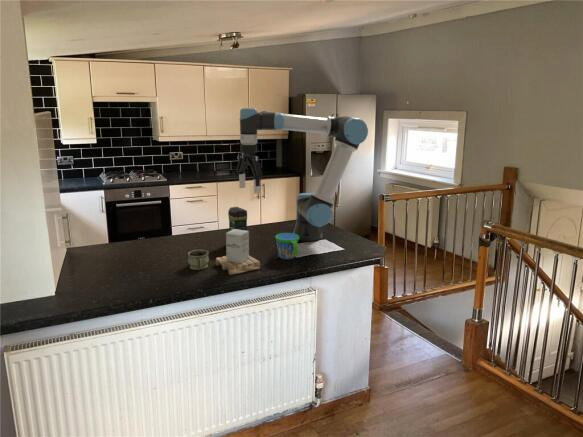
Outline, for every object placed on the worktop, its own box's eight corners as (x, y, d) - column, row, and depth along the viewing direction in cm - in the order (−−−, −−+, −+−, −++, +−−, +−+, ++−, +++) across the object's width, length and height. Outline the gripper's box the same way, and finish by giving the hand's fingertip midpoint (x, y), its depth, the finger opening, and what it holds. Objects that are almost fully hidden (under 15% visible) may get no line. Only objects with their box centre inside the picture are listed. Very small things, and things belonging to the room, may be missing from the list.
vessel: (211, 270, 195) (211, 256, 193) (190, 272, 192) (189, 258, 190) (206, 260, 205) (205, 247, 204) (186, 263, 202) (185, 249, 201)
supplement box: (225, 261, 196) (225, 232, 193) (234, 256, 203) (234, 228, 199) (241, 264, 193) (240, 235, 190) (249, 258, 200) (249, 230, 196)
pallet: (244, 258, 208) (244, 252, 207) (260, 268, 197) (260, 261, 196) (215, 264, 201) (215, 258, 200) (230, 274, 189) (230, 268, 189)
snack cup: (305, 261, 206) (305, 239, 203) (283, 264, 201) (283, 242, 199) (290, 250, 219) (290, 230, 217) (269, 253, 215) (269, 232, 212)
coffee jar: (250, 245, 226) (249, 208, 221) (235, 248, 221) (235, 211, 216) (240, 240, 233) (240, 204, 228) (226, 243, 229) (225, 206, 224)
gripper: (228, 141, 214) (229, 186, 220) (255, 147, 195) (255, 196, 200) (242, 140, 219) (243, 185, 224) (270, 146, 199) (270, 194, 204)
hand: (249, 190), depth 212 cm, fingers open, 13 cm apart
